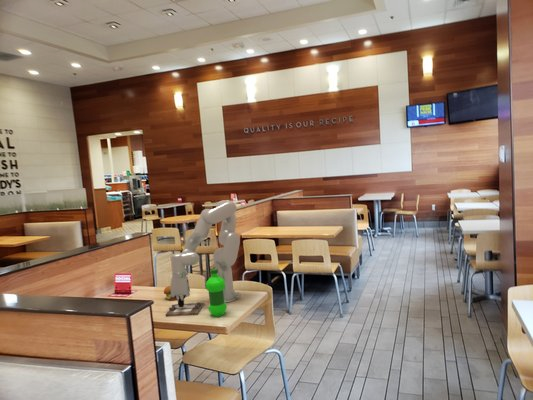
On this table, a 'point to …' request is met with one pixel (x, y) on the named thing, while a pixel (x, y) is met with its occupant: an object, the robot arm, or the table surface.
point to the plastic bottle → (216, 293)
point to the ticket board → (185, 310)
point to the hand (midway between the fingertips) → (181, 306)
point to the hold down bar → (184, 306)
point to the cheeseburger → (169, 293)
